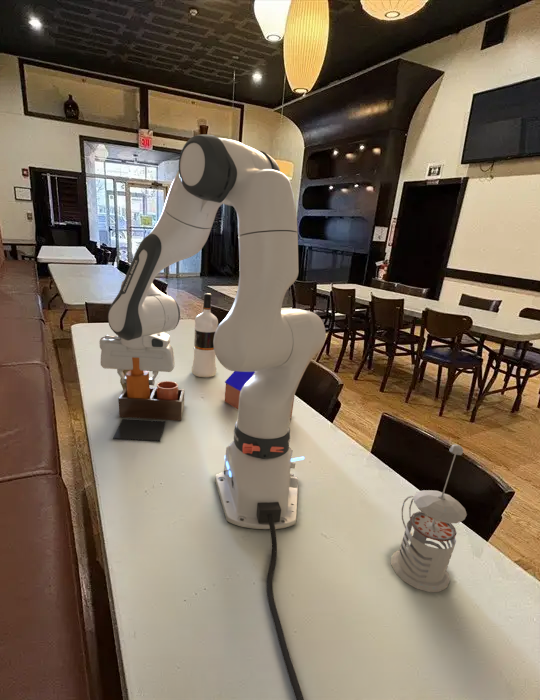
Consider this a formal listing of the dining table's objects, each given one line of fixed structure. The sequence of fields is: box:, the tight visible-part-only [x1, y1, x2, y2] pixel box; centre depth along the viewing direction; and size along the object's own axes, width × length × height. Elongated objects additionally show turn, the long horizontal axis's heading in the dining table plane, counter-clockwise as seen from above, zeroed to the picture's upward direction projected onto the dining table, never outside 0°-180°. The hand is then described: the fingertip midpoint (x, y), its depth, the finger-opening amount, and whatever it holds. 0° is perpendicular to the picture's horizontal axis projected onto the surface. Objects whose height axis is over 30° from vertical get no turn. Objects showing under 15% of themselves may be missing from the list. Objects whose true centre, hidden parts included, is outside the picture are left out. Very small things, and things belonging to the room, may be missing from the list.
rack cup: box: [156, 380, 179, 400], centre depth 121 cm, size 6×6×9 cm
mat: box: [112, 418, 166, 443], centre depth 111 cm, size 11×12×1 cm
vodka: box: [191, 292, 219, 378], centre depth 150 cm, size 9×9×30 cm
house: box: [224, 371, 296, 419], centre depth 128 cm, size 12×20×12 cm, turn 38°
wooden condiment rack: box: [118, 386, 186, 422], centre depth 121 cm, size 9×18×6 cm, turn 92°
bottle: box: [126, 357, 151, 399], centre depth 118 cm, size 6×6×17 cm
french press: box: [390, 443, 468, 593], centre depth 69 cm, size 10×12×25 cm
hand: (138, 383), depth 119 cm, fingers closed on bottle, 6 cm apart
